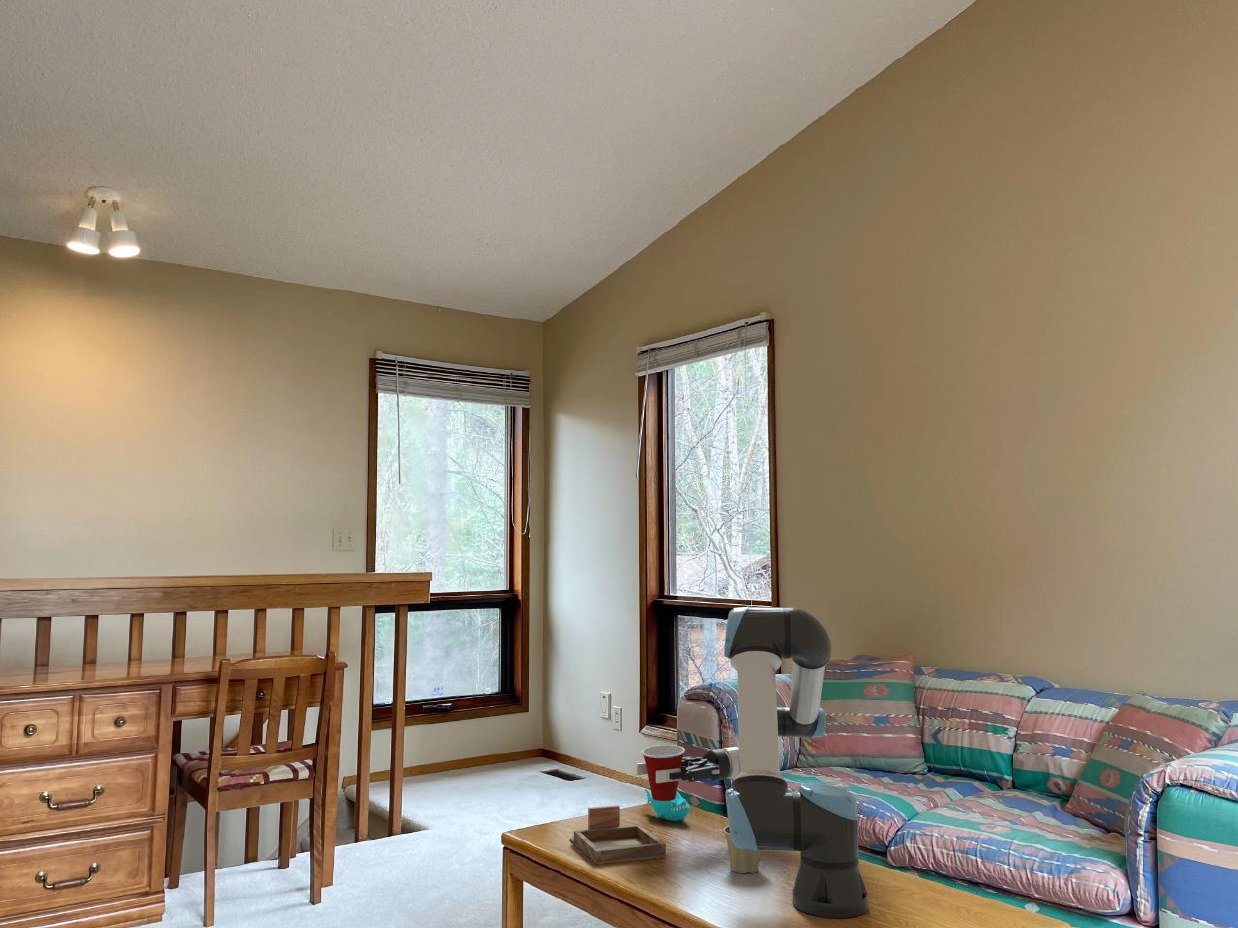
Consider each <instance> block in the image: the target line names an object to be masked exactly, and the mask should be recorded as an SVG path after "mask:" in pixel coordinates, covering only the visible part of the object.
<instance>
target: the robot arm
mask: <svg viewBox="0 0 1238 928" xmlns="http://www.w3.org/2000/svg"><path fill="white" fill-rule="evenodd" d="M725 629H726V630H725V640H724V648H723V649H724V652H723V655H724V658H726V659H729V660H730V666H731V667H732V668H733V669H734V670H736V672H737V674H736V675H737V717H738V718H737V719H738V723H737V726H738V727H737V728H738V729H737V730H738V746H732V747H724V748H717V749H709V750H707V751H706V752H705V754H704V756H703V758H702V757H701V756H699V757H698V756H695V757H693V756H691V755H688V756H683V758H682V762H681V768H676V769H668V770H659V771H656V783H662V782H670V781H678V780H679V781H687V782H689V783H691V782H696V781H702V780H705V779H706V780H707V779H709V780H711V781H716V782H717V781H723V780H726V779H727V780H729V779H730V780H731V783H732V784H731V786H732V787H731V788H729V789H726V790H725V802H726V811H727V812H726V813H727V821H728V826H729V828H730V834H731V839H732V842H733V844H734V845H735V846H736V847H737V848H740V849H751V850H754V851H757V850H760V851H778V852H779V851H782V852H783V851H784V852H800V858H799V859H800V865H799V867H798V871H797V874H796V877H795V881H794V884H793V888H792V892H791V895H792V897H791V898H792V899H791V900H792V906H794V907H795V908H796V909H798V910H800V911H802V912H804V913H806V914H808V915H813V916H815V917H816V916H817V917H818V916H819V917H822V918H823V917H824V918H829V919H831V918H835V919H845V918H855V917H858V916H861V915H864V914H865V913H866V912H868V911H869V895H868V892H867V888H866V885H865V882H864V880H863V876H862V874H861V871H860V865H859V833H858V832H859V831H858V830H859V828H858V827H859V826H858V821H859V815H858V813H859V812H858V804H857V803H858V802H857V799H856V797H855V795H854V794H853V793H852V792H850V791H849V790H847V789H845V788H841V787H839V786H835V785H832V784H826V783H820V782H819V783H818V782H803V783H800V785H799V787H798V791H796V790H794V791H793V790H789V787H788V781H787V780H786V779H785V777H783V776H782V775H781V771H780V750H779V748H780V747H779V745H780V744H779V737H780V738H781V737H783V738H785V737H788V738H808V739H812V738H822V737H824V736H825V735H826V731H827V730H826V729H827V717H826V711H825V709H824V708H822V707H821V699H822V691H823V685H824V677H825V669H826V668H825V667H826V666H827V665H828V663H829V662H830V660H831V657H832V651H833V649H832V641H831V638H830V635H829V633H828V631H827V629H826V627H825V626H824V625H823V623H822V622H821V621H820V620H819V619H818V618H817V617H816V616H814V615H813V614H812V613H810V612H808V611H806V610H804V609H800V608H797V607H751V606H746V607H734V608H733V609H731V610H729V613H728V617H727V622H726V628H725ZM782 659H786V660H787V659H791V660H792V673H791V683H790V684H791V685H790V695H789V697H790V698H789V706H788V707H787V706H778V704H777V703H778V701H777V682H776V681H777V679H776V671H778V669H780V668H781V666H782V664H783V663H782ZM635 775H637V776H642V775H648V773H647V767H646V763H645V762H638V763H636V774H635Z"/></svg>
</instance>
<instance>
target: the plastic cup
mask: <svg viewBox="0 0 1238 928" xmlns="http://www.w3.org/2000/svg"><path fill="white" fill-rule="evenodd" d="M685 751H686V749H685V748H684V747H682V746H680V745H673V744H661V745H660V744H659V745H652V746H648V747H645V748H644V749H642V750H641V754H642V755H643V756H642V757H643V759H644V763H646V767H647V773H648V774H647V779H648V782H649V783H648V784H649V788H650V793H651V794H650V795H651V796H652V799H653V800H656V801H672V800H675V797H676V793H677V792H678V786H679V782H680V780H678V781H670V782H662V783H656V771H659V770H668V769H676V768H681V762H682V758H683V757H684V756H683V755H684V754H685Z"/></svg>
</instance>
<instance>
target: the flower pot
mask: <svg viewBox="0 0 1238 928" xmlns="http://www.w3.org/2000/svg"><path fill="white" fill-rule="evenodd" d="M722 831H723V834H725V839H726V841H727V842H726V843H727V849H728V858H729V864H730V869H731V870H732V872H735V873H739V874H747V873H750V874H753V873H756V872H757V871H758V870H759V864H760V856H761V850H757V851H754V850H751V849H740V848H737V847H736V846H735V845H734V844H733V842H732V839H731V834H730V828H729V825H727V826H726V827H724V828H723V829H722Z"/></svg>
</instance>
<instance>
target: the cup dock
mask: <svg viewBox="0 0 1238 928" xmlns="http://www.w3.org/2000/svg"><path fill="white" fill-rule="evenodd" d="M620 807H621V806H620V805H607V806H595V807H594V806H593V807H588V808H587V813H588V815H587V816H588V817H587V829H582V830H573V837H569V841H570V840H571V841H572V842H573V843H574V844H573V843H572V842H571V841H570V842H571V843H572V844H573V845H575V846H576V847H577V849H578V850H580V852H582V853H583V854H584V855H585V856H586V855H587V856H588V857H589V858H590V860H591V861H592V862H593V863H594V862H595V863H594V864H595V865H596V864H598V865H606V864H605V863H607V864H615V863H622V862H623V863H624V862H632V861H634V862H635V861H641V860H649V859H650V860H651V859H659V858H661V859H662V858H666V857H667V844H666V842H664V841H662V840H661V839H659V837H657V836H656V835H654V834H653V833H651V832H650V831H649V830H647V829H646V828H644V827H643V826H642V825H640V824H634V825H623V826H621V824H620V822H621V820H620V819H621V818H620V812H621V810H620V809H621V808H620ZM587 856H586V857H587ZM588 857H587V858H588ZM589 858H588V859H589Z"/></svg>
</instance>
